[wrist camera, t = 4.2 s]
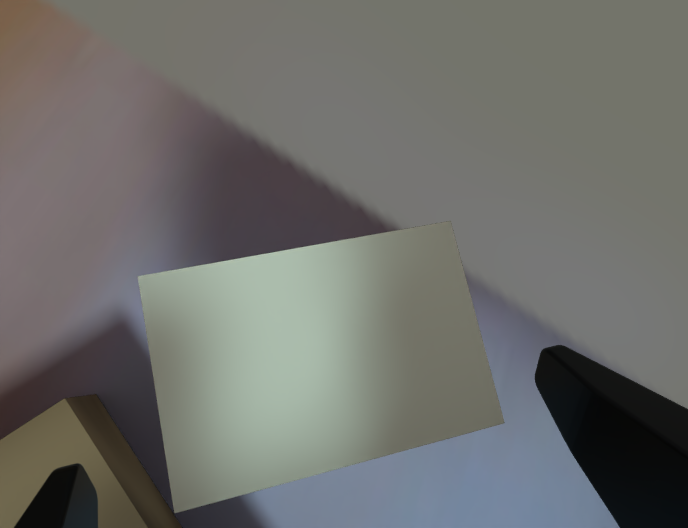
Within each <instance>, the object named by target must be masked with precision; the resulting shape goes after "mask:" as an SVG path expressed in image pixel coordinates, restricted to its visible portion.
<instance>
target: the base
mask: <svg viewBox="0 0 688 528" xmlns="http://www.w3.org/2000/svg"><path fill="white" fill-rule="evenodd" d="M75 463H79V464H81V465H82V466H83V467H84V469H85V471H86V472H87V474H88V476H89V478H90V480H91V482H92V483H93V485H94V487H95V489H96V492H97V498H98V528H182V526H181V525H180V523H179V522H178V520H177V519H176V517H175V516H174V514H173V513H172V511H171V509H170V508H169V506H168V505H167V503H166V502H165V500H164V499H163V497H162V496H161V494H160V492H159V491H158V489H157V488H156V486H155V485H154V483H153V482H152V480H151V479H150V477H149V475H148V474H147V472H146V471H145V469H144V468H143V466H142V465H141V463H140V462H139V460H138V458H137V457H136V455H135V454H134V452H133V451H132V449H131V448H130V446H129V444H128V443H127V441H126V440H125V438H124V437H123V435H122V434H121V432H120V431H119V429H118V427H117V426H116V424H115V423H114V421H113V420H112V418H111V417H110V415H109V414H108V412H107V410H106V409H105V407H104V406H103V404H102V403H101V401H100V400H99V398H98V397H97V395H96V394H94V395H86V396H78V397H70V398H64V399H63V400H61V401H60V402H58V403H57V404H55V405H53V406H52V407H50V408H49V409H47V410H46V411H44V412H43V413H41V414H40V415H38V416H36V417H35V418H33V419H32V420H30V421H29V422H27V423H26V424H24V425H23V426H21V427H19V428H18V429H16V430H15V431H13V432H12V433H10V434H9V435H7V436H6V437H4V438H3V439H1V440H0V528H14V526H15V525H16V523H17V522H18V521H19V519H20V518H21V516H22V515H23V513H24V512H25V510H26V509H27V507H28V506H29V504H30V503H31V501H32V500H33V499H34V497H35V496H36V494H37V493H38V491H39V490H40V488H41V487H42V485H43V484H44V482H45V481H46V479H47V478H48V477H49V475H50V474H51V472H52V471H54V470H55V469H56V468H59V467H63V466H67V465H71V464H75Z"/></svg>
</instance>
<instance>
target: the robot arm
mask: <svg viewBox="0 0 688 528" xmlns="http://www.w3.org/2000/svg"><path fill="white" fill-rule="evenodd" d="M535 383H536V386H537V388H538V390H539V392H540V394H541V396H542V398H543V400H544V402H545V404H546V406H547V407H548V409H549V411H550V413H551V415H552V417H553V419H554V421H555V423H556V425H557V427H558V429H559V431H560V433H561V434H562V436H563V438H564V440H565V442H566V444H567V446H568V447H569V449H570V451H571V453H572V454H573V456H574V458H575V459H576V461H577V462H578V464H579V465H580V467H581V468H582V470H583V472H584V473H585V475H586V476H587V478H588V479H589V481H590V482H591V484H592V485H593V487H594V488H595V490H596V491H597V493H598V494H599V496H600V498H601V499H602V501H603V502H604V504H605V505H606V507H607V508H608V510H609V511H610V513H611V514H612V516H613V517H614V519H615V520H616V522H617V524H618V525H619V527H620V528H688V409H687V408H685V407H683V406H681V405H679V404H677V403H675V402H673V401H671V400H669V399H667V398H665V397H663V396H661V395H659V394H657V393H655V392H653V391H651V390H649V389H647V388H646V387H644V386H642V385H640V384H638V383H636V382H634V381H632V380H630V379H628V378H626V377H624V376H622V375H620V374H618V373H616V372H614V371H612V370H610V369H608V368H606V367H605V366H603V365H601V364H599V363H597V362H595V361H593V360H591V359H589V358H587V357H585V356H583V355H581V354H579V353H577V352H575V351H573V350H571V349H569V348H567V347H565V346H562V345H556V346H552V347H548V348H545V349H543V350H542V351H541V353H540V357H539V361H538V365H537V368H536V372H535ZM14 528H98V498H97V492H96V489H95V487H94V485H93V483H92V482H91V480H90V478H89V476H88V474H87V472H86V471H85V469H84V467H83V466H82V465H81V464H79V463H75V464H71V465H67V466H63V467H59V468H56V469H55V470H54V471H52V472H51V474H50V475H49V477H48V478H47V479H46V481H45V482H44V484H43V485H42V487H41V488H40V490H39V491H38V493H37V494H36V496H35V497H34V499H33V500H32V501H31V503H30V504H29V506H28V507H27V509H26V510H25V512H24V513H23V515H22V516H21V518H20V519H19V521H18V522H17V523H16V525H15V526H14Z"/></svg>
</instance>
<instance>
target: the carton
mask: <svg viewBox="0 0 688 528" xmlns="http://www.w3.org/2000/svg"><path fill="white" fill-rule="evenodd" d="M138 281H139V288H140V294H141V301H142V307H143V313H144V320H145V326H146V333H147V339H148V346H149V352H150V359H151V365H152V372H153V378H154V385H155V391H156V398H157V404H158V411H159V417H160V424H161V430H162V437H163V443H164V450H165V456H166V463H167V469H168V475H169V482H170V488H171V495H172V501H173V508H174V514H175V513H178V512H182V511H186V510H189V509H193V508H197V507H200V506H204V505H207V504H211V503H215V502H218V501H222V500H226V499H229V498H233V497H237V496H240V495H244V494H248V493H251V492H255V491H259V490H262V489H266V488H270V487H273V486H277V485H281V484H284V483H288V482H291V481H295V480H299V479H302V478H306V477H310V476H313V475H317V474H321V473H324V472H328V471H332V470H335V469H339V468H343V467H346V466H350V465H354V464H357V463H361V462H365V461H368V460H372V459H375V458H379V457H383V456H386V455H390V454H394V453H397V452H401V451H405V450H408V449H412V448H416V447H419V446H423V445H427V444H430V443H434V442H438V441H441V440H445V439H449V438H452V437H456V436H459V435H463V434H467V433H470V432H474V431H478V430H481V429H485V428H489V427H492V426H496V425H500V424H503V423H504V419H503V415H502V412H501V408H500V404H499V400H498V397H497V393H496V389H495V385H494V382H493V378H492V374H491V370H490V367H489V363H488V359H487V355H486V352H485V348H484V344H483V340H482V337H481V333H480V329H479V325H478V322H477V318H476V314H475V310H474V307H473V303H472V299H471V295H470V292H469V288H468V284H467V280H466V277H465V273H464V269H463V265H462V262H461V258H460V254H459V251H458V247H457V243H456V239H455V235H454V232H453V228H452V224H451V221H447V222H441V223H435V224H430V225H424V226H419V227H413V228H407V229H402V230H396V231H390V232H385V233H379V234H374V235H368V236H362V237H357V238H351V239H345V240H340V241H334V242H329V243H323V244H317V245H312V246H306V247H300V248H295V249H289V250H284V251H278V252H272V253H267V254H261V255H255V256H250V257H244V258H239V259H233V260H227V261H222V262H216V263H210V264H205V265H199V266H194V267H188V268H182V269H177V270H171V271H165V272H160V273H154V274H149V275H143V276H138Z"/></svg>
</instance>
